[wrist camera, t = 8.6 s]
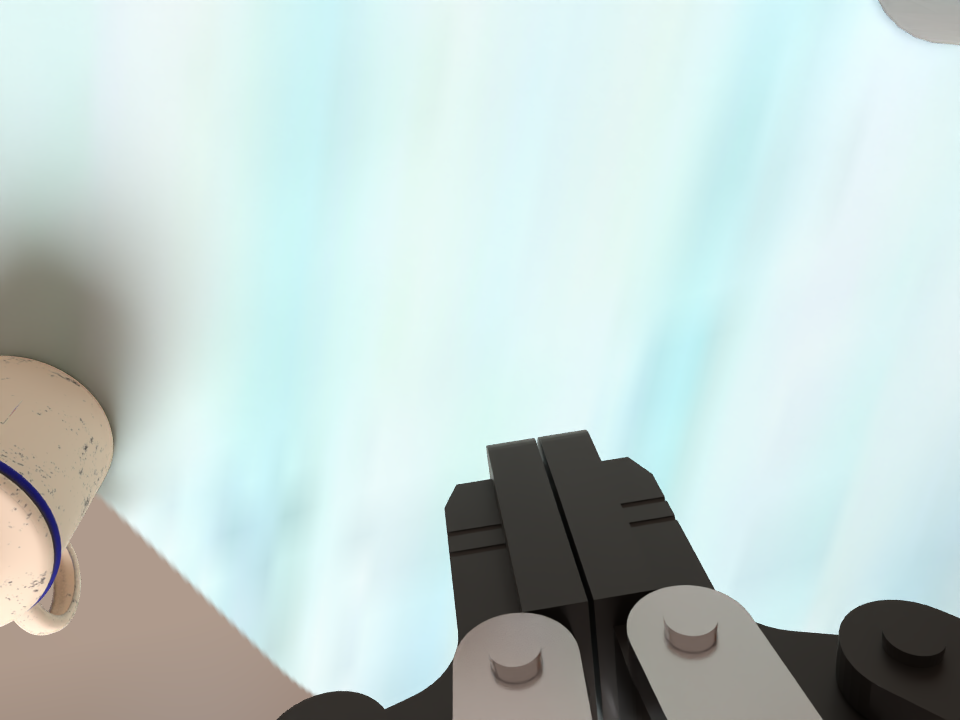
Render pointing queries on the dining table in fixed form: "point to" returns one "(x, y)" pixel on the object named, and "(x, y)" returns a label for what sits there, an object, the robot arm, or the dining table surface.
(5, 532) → the teacup with lid
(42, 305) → the dining table surface
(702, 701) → the robot arm
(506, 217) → the dining table surface
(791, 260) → the dining table surface
